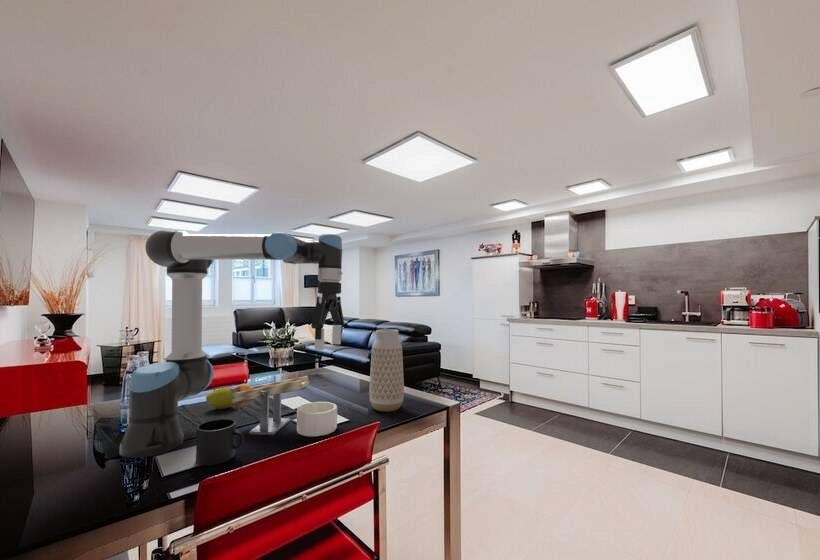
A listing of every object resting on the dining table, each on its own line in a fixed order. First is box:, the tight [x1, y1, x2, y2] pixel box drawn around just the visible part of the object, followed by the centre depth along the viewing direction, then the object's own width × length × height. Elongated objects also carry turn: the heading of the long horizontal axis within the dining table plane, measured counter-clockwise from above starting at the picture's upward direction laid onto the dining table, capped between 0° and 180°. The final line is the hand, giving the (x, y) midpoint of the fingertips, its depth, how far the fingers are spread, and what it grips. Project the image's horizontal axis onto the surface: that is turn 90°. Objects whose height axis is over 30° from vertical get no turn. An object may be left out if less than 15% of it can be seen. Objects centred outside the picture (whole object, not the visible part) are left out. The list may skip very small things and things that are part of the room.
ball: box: [239, 383, 252, 392], centre depth 121 cm, size 4×4×4 cm
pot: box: [296, 401, 338, 437], centre depth 119 cm, size 13×13×7 cm
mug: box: [195, 418, 245, 467], centre depth 97 cm, size 9×12×9 cm
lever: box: [230, 375, 310, 410], centre depth 124 cm, size 24×15×7 cm, turn 86°
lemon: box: [205, 387, 235, 410], centre depth 139 cm, size 11×8×8 cm
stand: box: [248, 391, 291, 436], centre depth 120 cm, size 8×13×13 cm, turn 176°
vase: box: [368, 328, 405, 413], centre depth 141 cm, size 14×14×31 cm
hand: (328, 346), depth 116 cm, fingers open, 13 cm apart
